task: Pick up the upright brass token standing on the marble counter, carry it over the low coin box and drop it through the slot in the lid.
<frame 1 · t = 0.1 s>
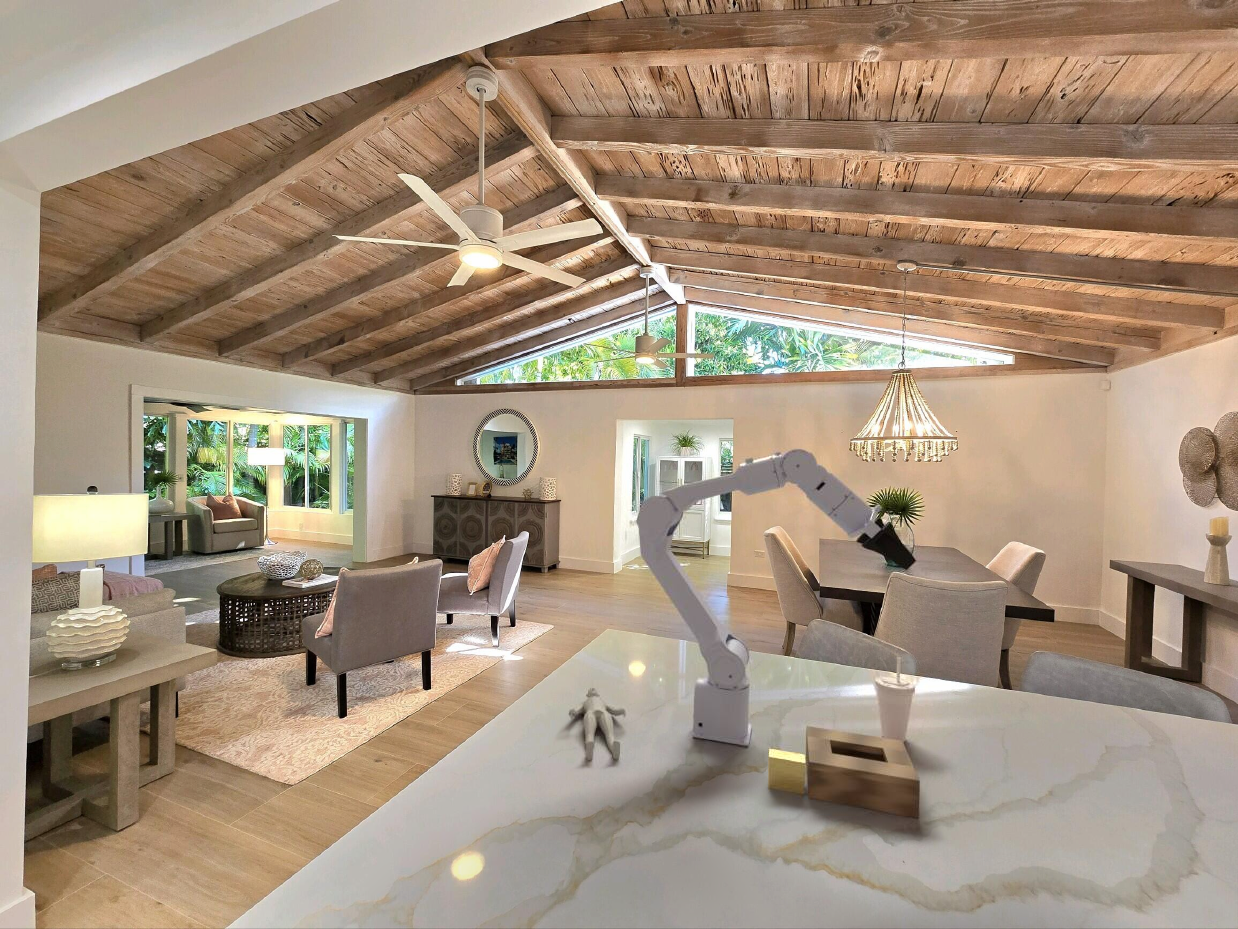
hand: (906, 562, 90), 32 cm above the kitchen island countertop, tool tilted 50°, fingers open, 7 cm apart
male figure: (596, 730, 98), on the kitchen island countertop
smoothie: (893, 738, 98), on the kitchen island countertop
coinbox: (857, 785, 82), on the kitchen island countertop
token: (786, 786, 81), on the kitchen island countertop
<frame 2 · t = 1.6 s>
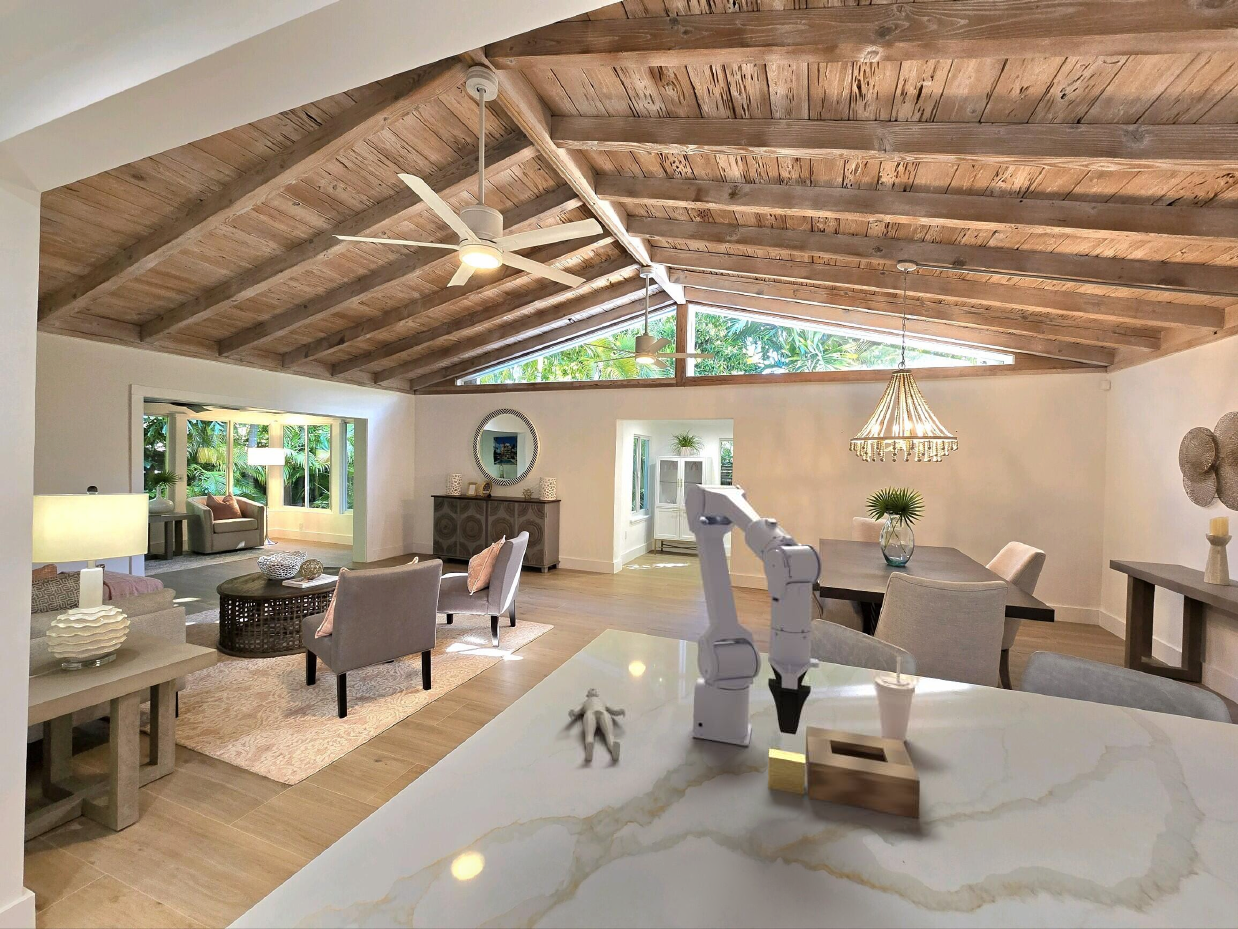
hand: (787, 721, 82), 9 cm above the kitchen island countertop, tool pointing down, fingers open, 7 cm apart
nothing on the kitchen island countertop moved.
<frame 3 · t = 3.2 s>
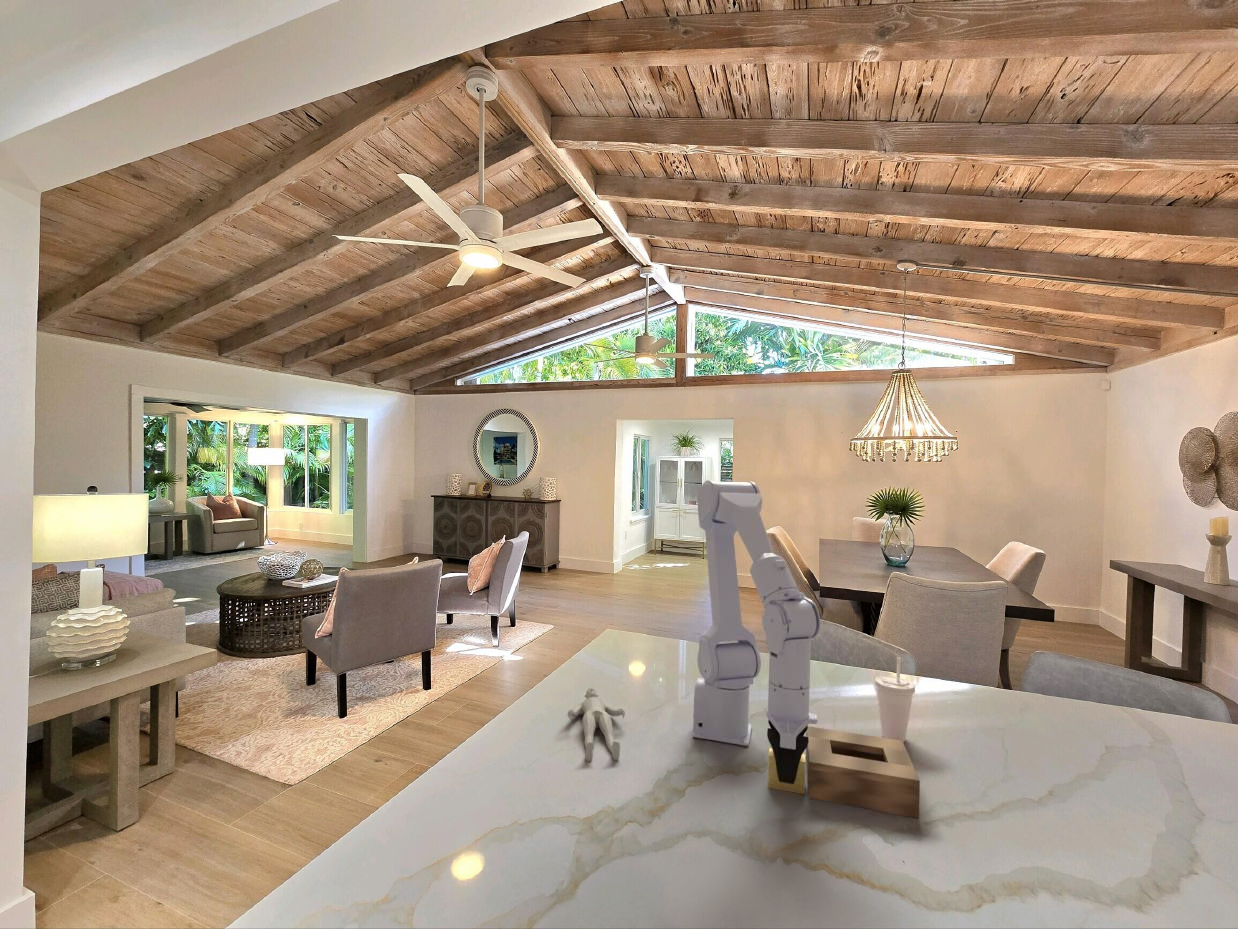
hand: (786, 776, 81), 1 cm above the kitchen island countertop, tool pointing down, fingers closed on token, 2 cm apart
token: (786, 786, 81), on the kitchen island countertop, touching gripper
everything else where it was.
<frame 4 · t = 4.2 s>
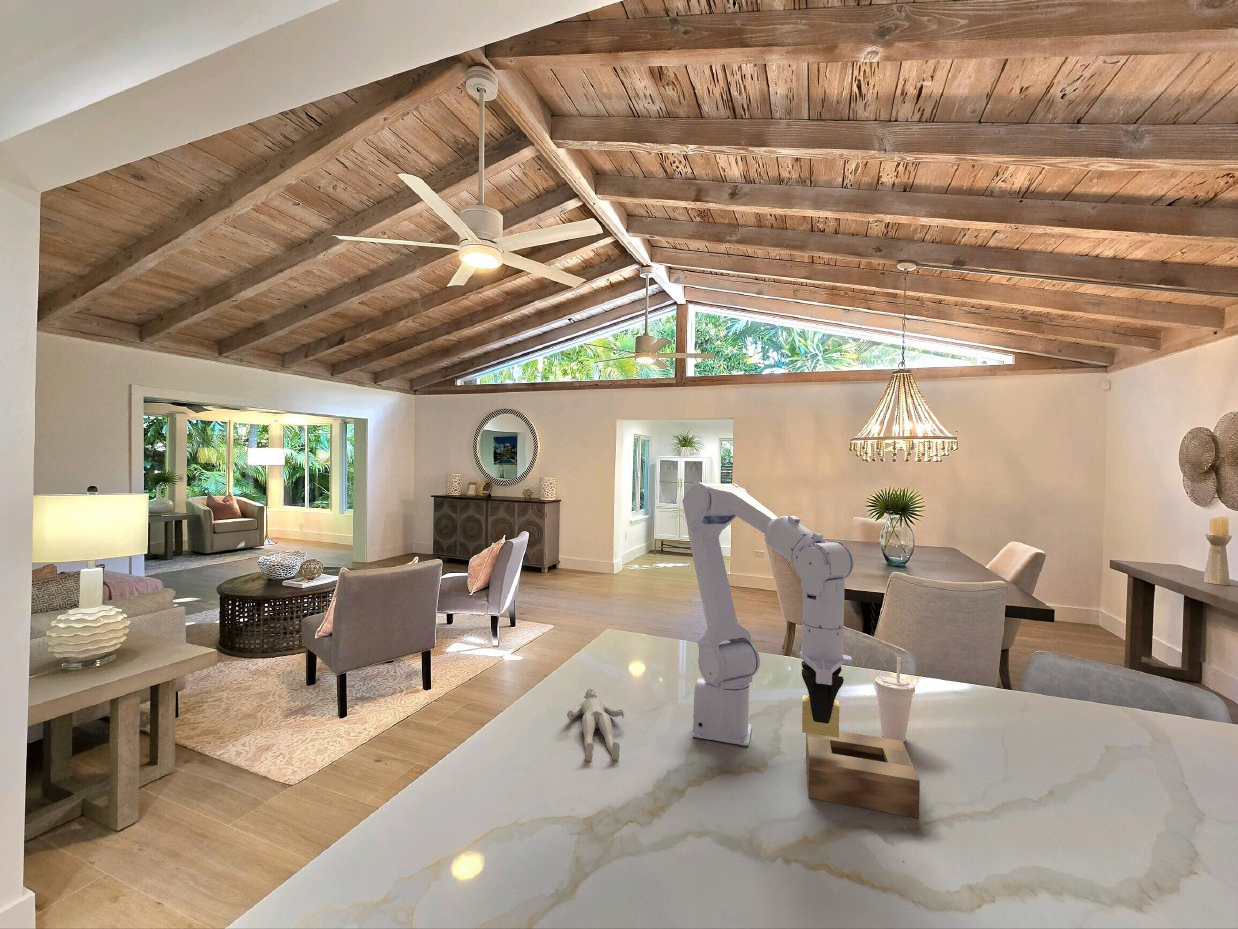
hand: (820, 717, 82), 10 cm above the kitchen island countertop, tool pointing down, fingers closed on token, 2 cm apart
token: (819, 731, 82), point 8 cm above the kitchen island countertop, touching gripper
everything else where it was.
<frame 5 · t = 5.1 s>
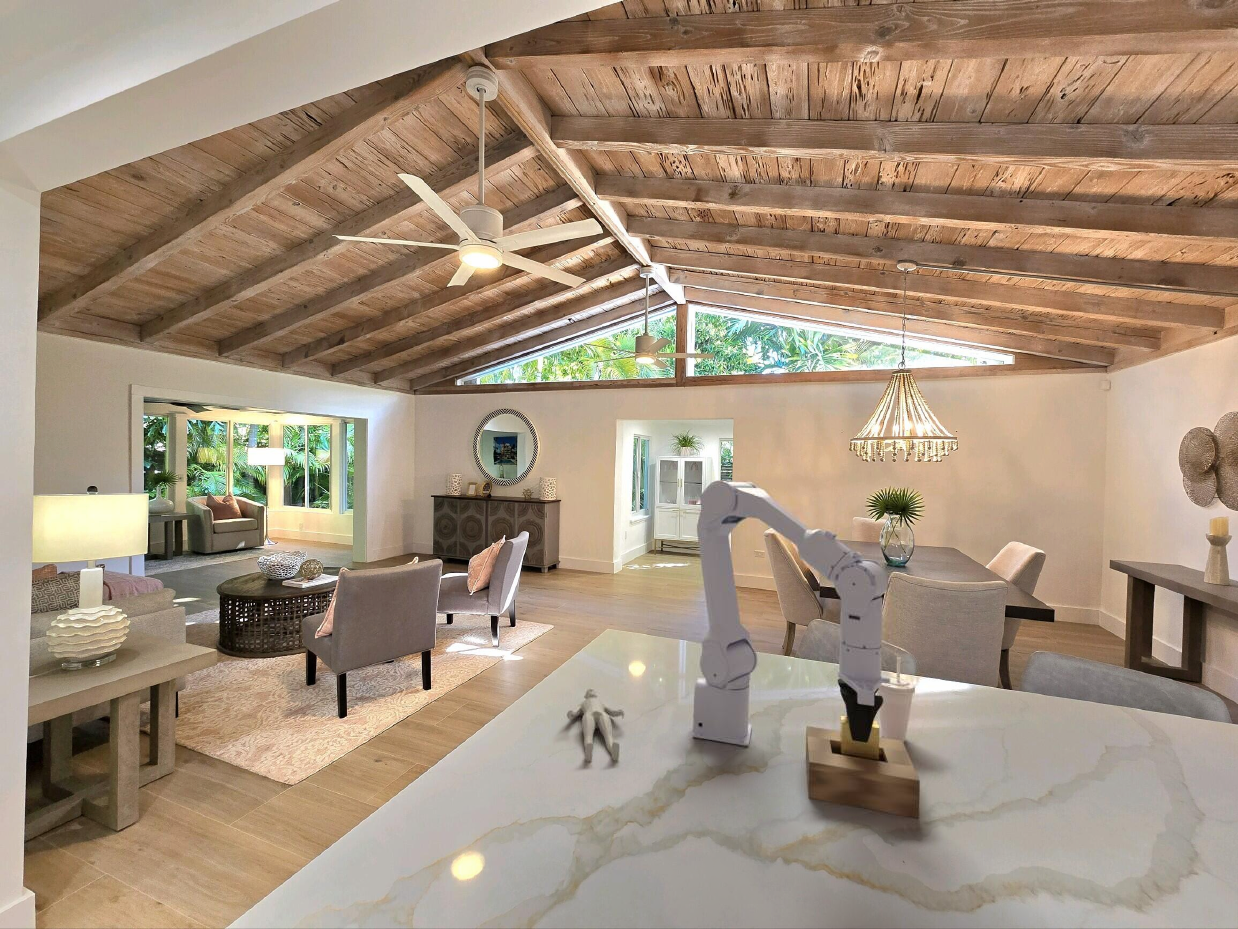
hand: (858, 736, 82), 7 cm above the kitchen island countertop, tool pointing down, fingers closed on token, 2 cm apart
token: (858, 752, 82), point 5 cm above the kitchen island countertop, touching gripper
everything else where it was.
when the fingers open (6 cm above the kitchen island countertop, at t = 5.6 s): token drops 3 cm, resting in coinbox.
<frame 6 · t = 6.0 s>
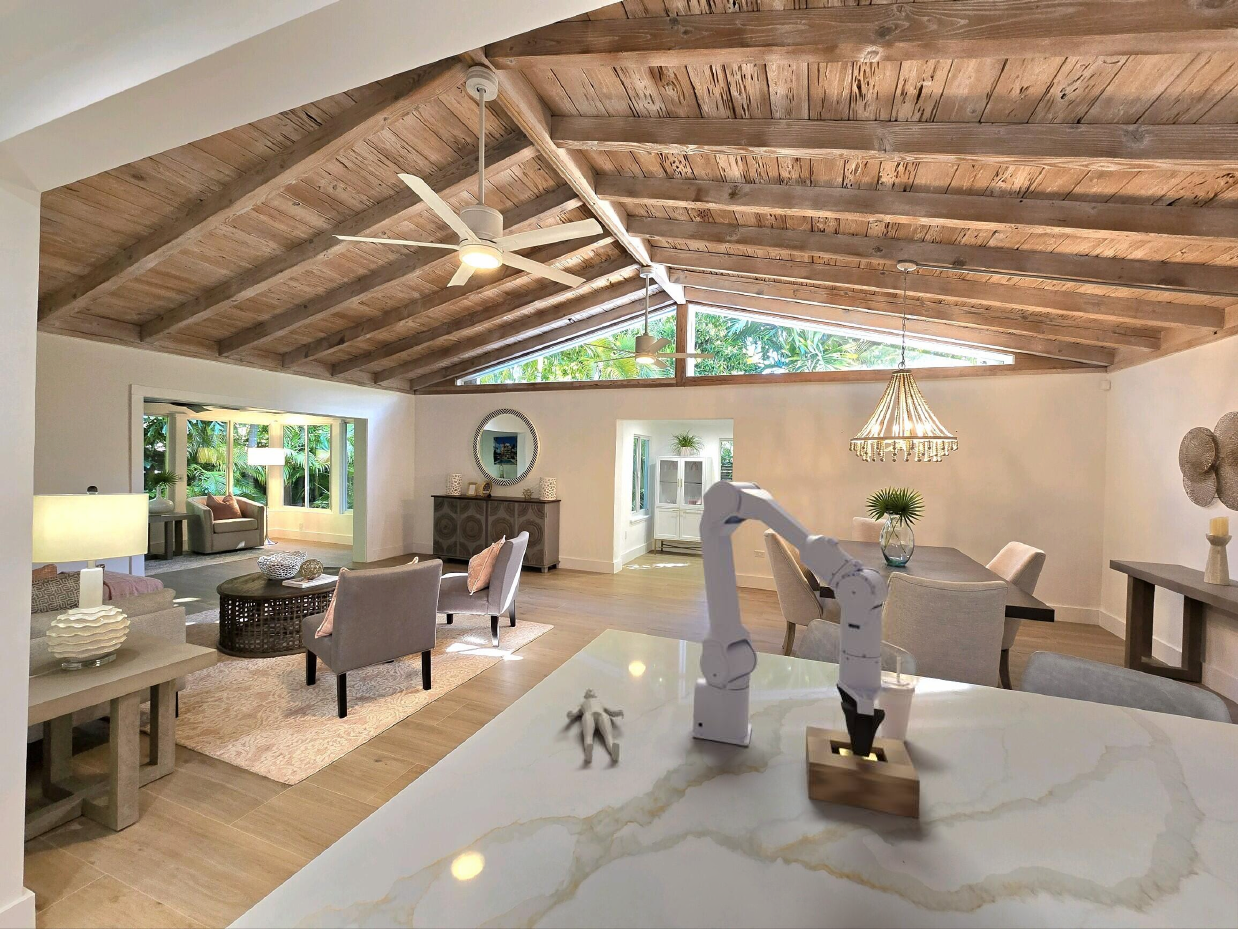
hand: (858, 744, 82), 6 cm above the kitchen island countertop, tool pointing down, fingers open, 6 cm apart
token: (857, 785, 82), resting in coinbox
everything else where it was.
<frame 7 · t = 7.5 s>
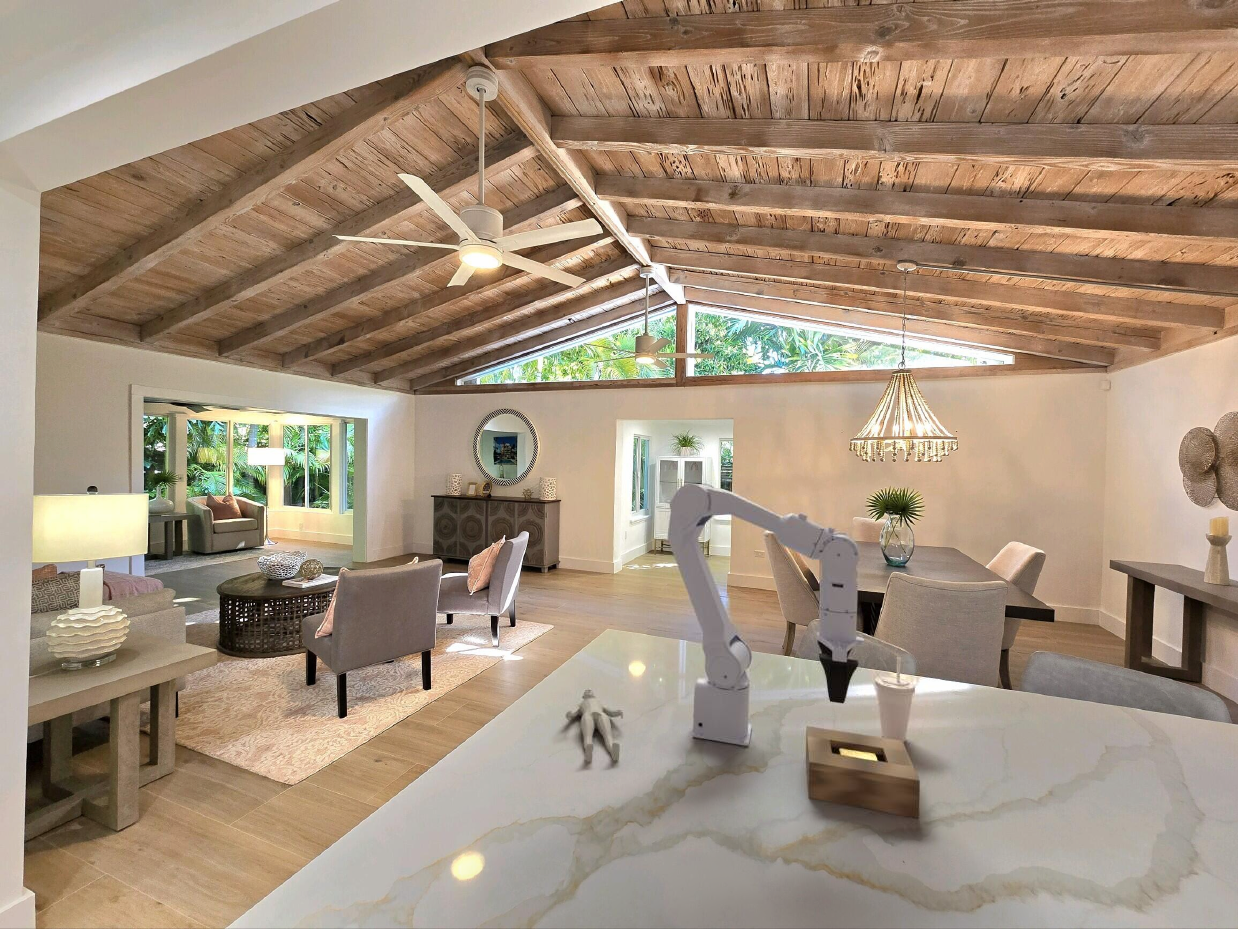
hand: (835, 693, 91), 10 cm above the kitchen island countertop, tool pointing down, fingers open, 7 cm apart
nothing on the kitchen island countertop moved.
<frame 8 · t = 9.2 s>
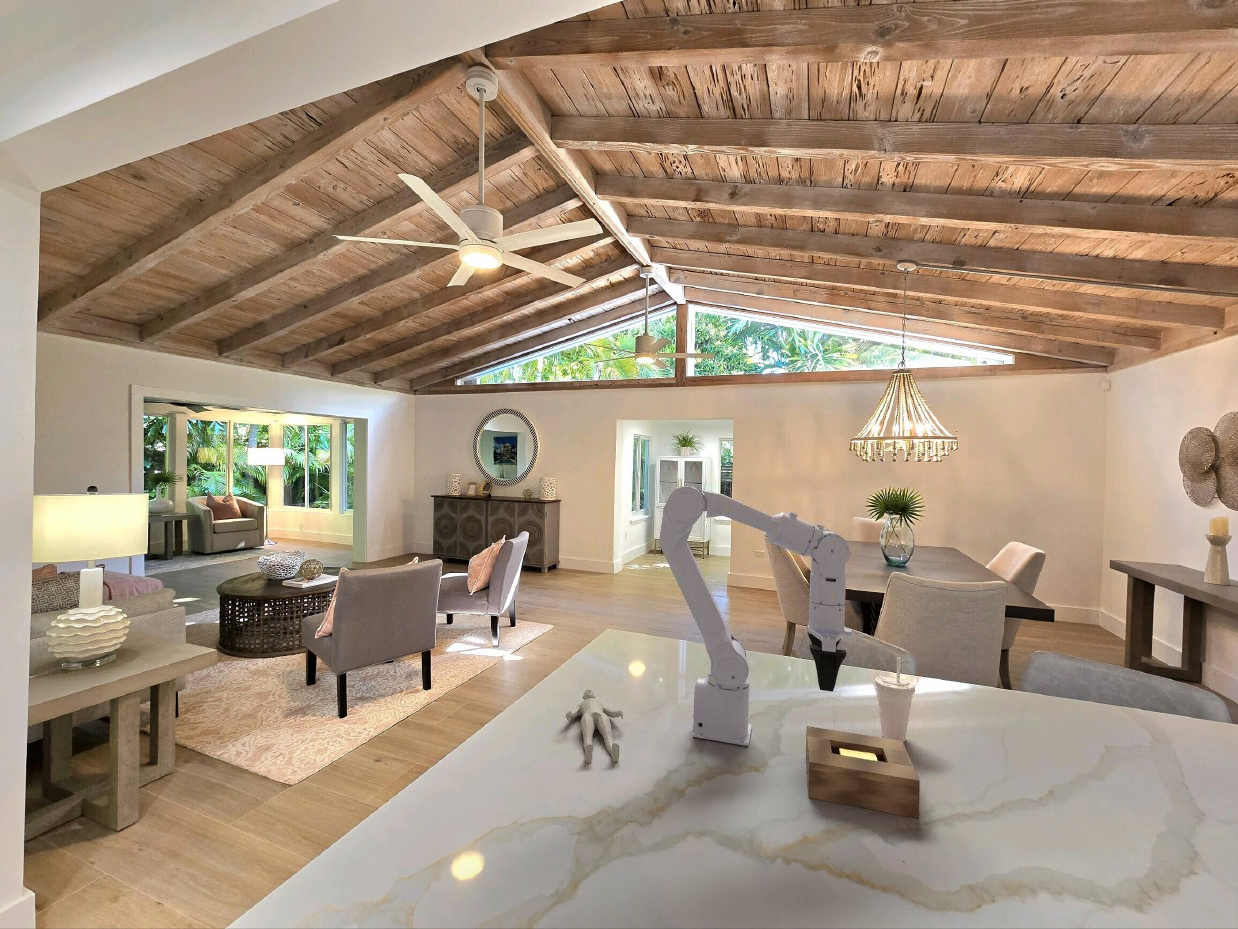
hand: (824, 682, 95), 10 cm above the kitchen island countertop, tool pointing down, fingers open, 7 cm apart
nothing on the kitchen island countertop moved.
at the end: token inside the target area on the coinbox (0.0 cm from its centre), point 0.0 cm above the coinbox's base; the gripper is holding nothing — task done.
